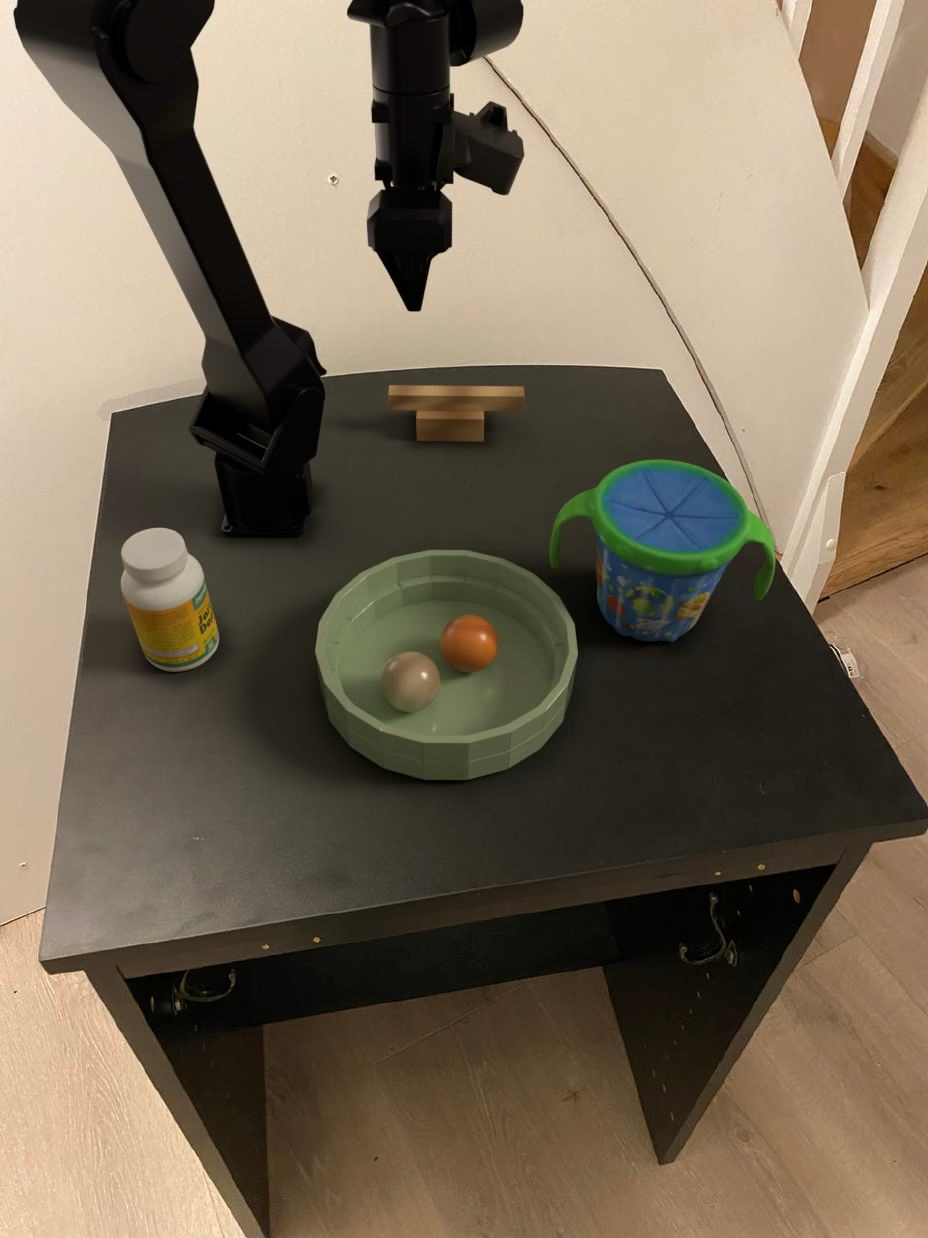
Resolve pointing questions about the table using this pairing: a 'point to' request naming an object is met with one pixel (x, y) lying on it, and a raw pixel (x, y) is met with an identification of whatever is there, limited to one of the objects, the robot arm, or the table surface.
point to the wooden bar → (456, 398)
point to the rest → (450, 426)
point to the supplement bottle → (168, 600)
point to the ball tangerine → (469, 643)
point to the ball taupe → (410, 681)
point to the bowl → (466, 702)
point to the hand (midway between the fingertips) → (416, 283)
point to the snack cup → (663, 544)
